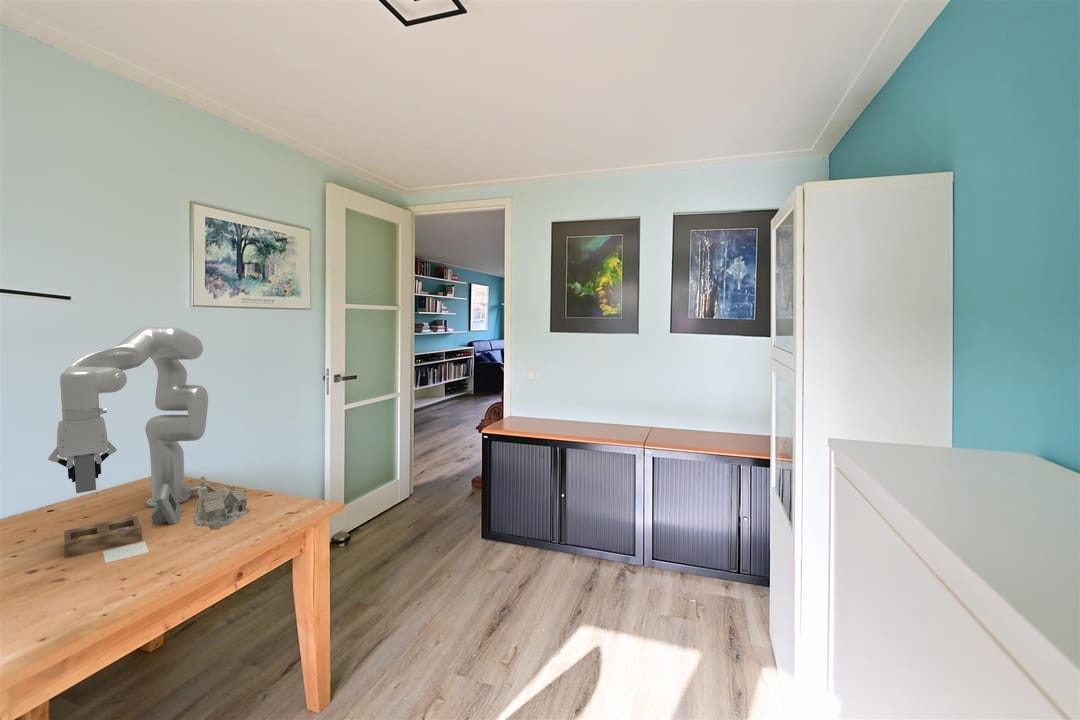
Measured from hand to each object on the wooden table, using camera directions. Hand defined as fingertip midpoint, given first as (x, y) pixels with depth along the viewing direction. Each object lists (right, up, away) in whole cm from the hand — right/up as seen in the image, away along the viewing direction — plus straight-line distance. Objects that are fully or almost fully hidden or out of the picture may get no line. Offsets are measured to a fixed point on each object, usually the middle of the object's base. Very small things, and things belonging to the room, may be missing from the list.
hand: (85, 478), depth 134 cm
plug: (0, -3, 0) cm, 3 cm away
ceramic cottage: (+22, -20, +25) cm, 39 cm away
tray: (+13, -21, -1) cm, 25 cm away
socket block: (+1, -21, +4) cm, 21 cm away
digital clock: (+6, -20, +23) cm, 31 cm away
